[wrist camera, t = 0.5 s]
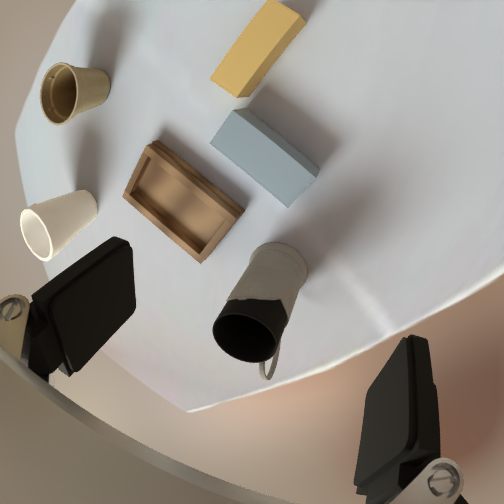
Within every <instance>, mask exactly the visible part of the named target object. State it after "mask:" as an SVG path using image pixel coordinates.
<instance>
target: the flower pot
mask: <svg viewBox="0 0 504 504" xmlns="http://www.w3.org/2000/svg"><path fill="white" fill-rule="evenodd" d="M109 91H110V80H109V77H108V75H107V74H106V73H105V72H104V71H102V70H100V69H91V68H79V67H74V66H71V65H69V64H67V63H62V62H61V63H57V64H55V65H53V66H52V67H51V68H50V69H49V70H48V71H47V72H46V74H45V76H44V78H43V81H42V84H41V89H40V103H41V107H42V111H43V113H44V115H45V117H46V118H47V120H48V121H49V122H50V123H52V124H54V125H63V124H65V123H67V122H68V121H69V120H70V119H71V118H73V117H74V116H75V115H77V114H79V113H81V112H83V111H86V110H88V109H91V108H93V107H96V106H98V105H101V104H102V103H103V102H104V101H105V100H106V98H107V95H108V93H109Z"/></svg>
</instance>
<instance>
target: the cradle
mask: <svg viewBox="0 0 504 504" xmlns="http://www.w3.org/2000/svg"><path fill="white" fill-rule="evenodd" d="M122 197H123V198H124V199H126V200H127V201H128V202H129V203H130V204H131V205H132V206H133V207H135V208H136V209H137V210H138V211H139V212H140V213H141V214H143V215H144V216H145V217H146V218H147V219H148V220H150V221H151V222H152V223H153V224H154V225H155V226H156V227H158V228H159V229H160V230H161V231H162V232H163V233H165V234H166V235H167V236H168V237H169V238H170V239H172V240H173V241H174V242H175V243H176V244H178V245H179V246H180V247H181V248H182V249H183V250H185V251H186V252H187V253H188V254H189V255H191V256H192V257H193V258H194V259H195V260H197V261H198V262H199V263H200V264H201V263H202V262H203V261H204V260H206V259H207V257H208V256H209V255H210V254H211V252H212V251H213V250H214V249H215V247H216V246H217V245H218V244H219V242H220V241H221V240H222V239H223V237H224V236H225V235H226V234H227V232H228V231H229V230H230V229H231V227H232V226H233V225H234V224H235V222H236V221H237V220H238V219H239V217H240V216H241V215H242V214H243V213H244V211H245V210H244V209H242V208H241V207H240V206H239V205H238V204H236V203H235V202H234V201H233V200H231V199H230V198H229V197H228V196H227V195H225V194H224V193H223V192H222V191H221V190H219V189H218V188H217V187H216V186H214V185H213V184H212V183H211V182H210V181H208V180H207V179H206V178H205V177H203V176H202V175H201V174H200V173H198V172H197V171H196V170H195V169H193V168H192V167H191V166H190V165H189V164H187V163H186V162H185V161H184V160H182V159H181V158H180V157H179V156H177V155H176V154H175V153H174V152H172V151H171V150H170V149H169V148H167V147H166V146H165V145H163V144H162V143H161V142H160V141H158V140H156V141H153V142H152V144H149V145H146V147H145V149H144V151H143V153H142V155H141V157H140V159H139V161H138V163H137V166H136V168H135V170H134V172H133V174H132V176H131V178H130V180H129V183H128V185H127V187H126V189H125V191H124V194H123V196H122Z"/></svg>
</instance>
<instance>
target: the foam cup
mask: <svg viewBox="0 0 504 504" xmlns="http://www.w3.org/2000/svg"><path fill="white" fill-rule="evenodd" d="M97 213H98V208H97V203H96V201H95V198H94V197H93V196H92V194H91V193H90V192H88V191H87V190H78V191H75V192H72V193H68V194H65V195H62V196H59V197H56V198H53V199H50V200H47V201H45V202H42V203H39V204H33V205H32V206H30V207H28V208H26V209H25V210H24V211H23V212H22V213H21V218H20V225H21V230H22V234H23V237H24V239H25V241H26V244H27V246H28V247H29V248H30V250H31V251H32V253H33V254H34V255H35V256H36V257H38V258H39V259H40V260H43V261H48V260H50V259H51V258H53V257H54V256H55V255H57V254H58V253H59V252H61V249H62V248H63V247H64V246H66V245H67V244H68V243H69V242H70V241H71V240H72V239H73V238H74V237H75V236H76V235H77V234H78V233H80V232H81V231H82V230H83V229H84V228H85V227H86V226H87V225H89V224H90V223H91V222H92V221H93V220H94V219H95V218H96V216H97Z"/></svg>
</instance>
